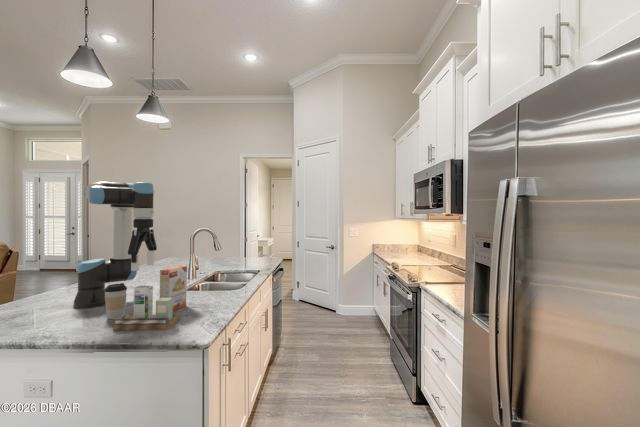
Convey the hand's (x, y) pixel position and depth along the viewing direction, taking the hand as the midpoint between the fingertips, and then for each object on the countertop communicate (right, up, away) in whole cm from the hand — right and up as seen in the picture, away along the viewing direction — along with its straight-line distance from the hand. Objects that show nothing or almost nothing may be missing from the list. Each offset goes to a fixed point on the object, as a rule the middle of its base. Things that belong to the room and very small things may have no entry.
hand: (143, 267), depth 140 cm
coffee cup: (-19, -25, +11) cm, 33 cm away
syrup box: (0, -23, 0) cm, 23 cm away
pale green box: (+9, -23, 0) cm, 24 cm away
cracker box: (+3, -25, +23) cm, 34 cm away
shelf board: (+2, -25, +1) cm, 25 cm away
